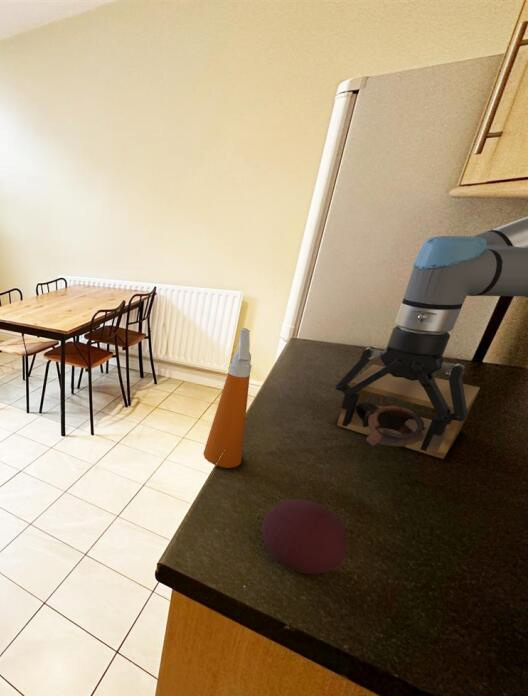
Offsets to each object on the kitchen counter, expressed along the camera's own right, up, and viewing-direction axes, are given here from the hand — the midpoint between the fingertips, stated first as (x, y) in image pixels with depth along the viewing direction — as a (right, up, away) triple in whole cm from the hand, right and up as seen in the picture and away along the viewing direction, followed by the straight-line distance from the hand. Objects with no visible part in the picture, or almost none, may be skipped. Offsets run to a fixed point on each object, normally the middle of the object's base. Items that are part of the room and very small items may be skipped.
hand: (383, 435), depth 82 cm
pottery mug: (0, -1, 0) cm, 1 cm away
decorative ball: (-32, -16, -21) cm, 41 cm away
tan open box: (+13, 0, +11) cm, 17 cm away
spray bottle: (-30, -5, +5) cm, 31 cm away
